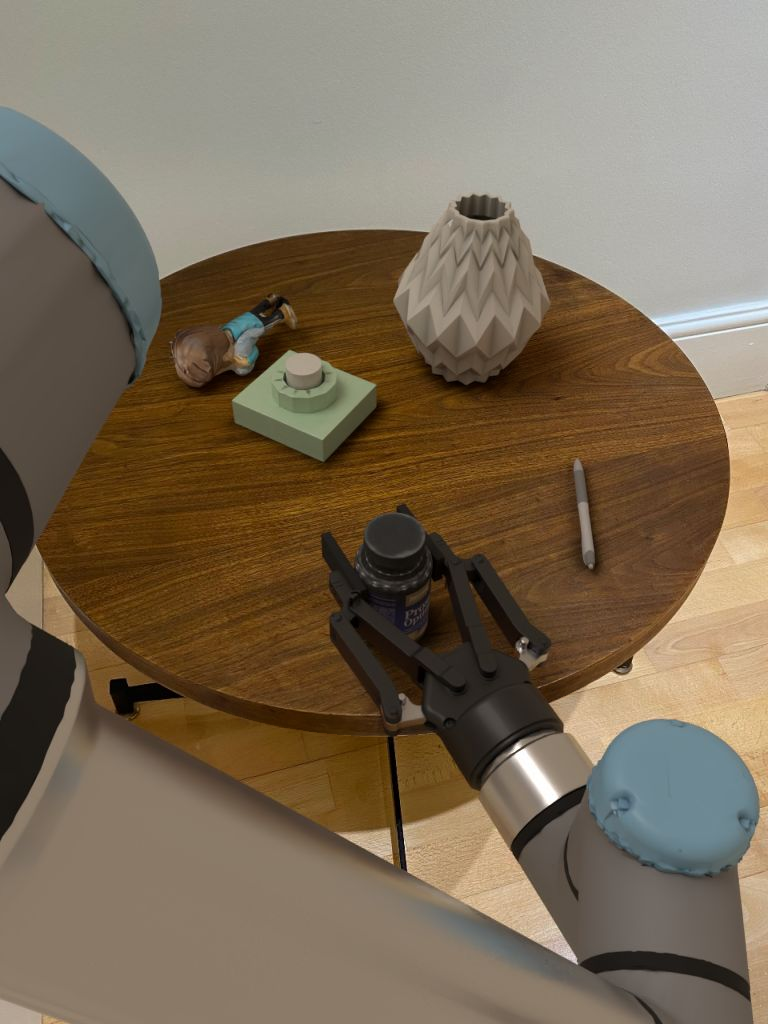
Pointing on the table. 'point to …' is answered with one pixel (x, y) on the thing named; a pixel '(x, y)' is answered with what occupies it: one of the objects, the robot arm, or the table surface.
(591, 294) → the table surface
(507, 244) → the vase
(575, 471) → the pen
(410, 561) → the pill bottle
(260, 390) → the green base with collar
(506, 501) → the table surface
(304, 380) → the cylinder peg
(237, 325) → the figurine
